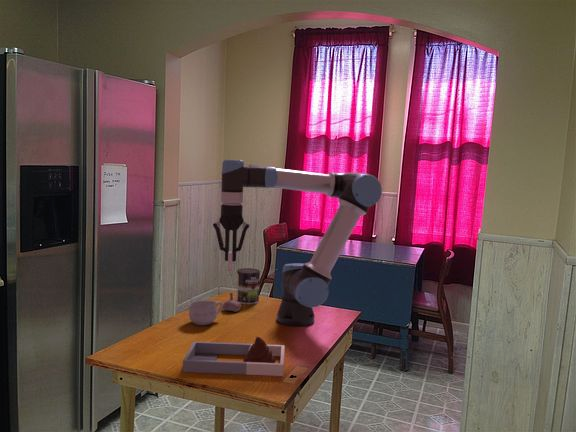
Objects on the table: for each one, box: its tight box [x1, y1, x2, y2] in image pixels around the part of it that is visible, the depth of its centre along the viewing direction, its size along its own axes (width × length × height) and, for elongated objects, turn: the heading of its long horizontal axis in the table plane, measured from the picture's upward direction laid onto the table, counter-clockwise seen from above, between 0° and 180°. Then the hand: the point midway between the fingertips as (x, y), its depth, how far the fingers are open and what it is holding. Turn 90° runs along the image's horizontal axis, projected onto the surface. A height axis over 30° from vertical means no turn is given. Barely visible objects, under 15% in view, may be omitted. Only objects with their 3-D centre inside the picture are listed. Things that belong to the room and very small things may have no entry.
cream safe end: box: [246, 343, 285, 377], centre depth 161 cm, size 11×16×4 cm
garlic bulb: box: [222, 291, 242, 313], centre depth 215 cm, size 8×7×8 cm
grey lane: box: [182, 341, 252, 376], centre depth 161 cm, size 19×16×4 cm
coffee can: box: [235, 267, 261, 305], centre depth 229 cm, size 10×10×14 cm
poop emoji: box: [242, 336, 276, 363], centre depth 160 cm, size 10×8×9 cm
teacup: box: [188, 299, 224, 326], centre depth 198 cm, size 14×11×8 cm
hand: (230, 270), depth 181 cm, fingers closed
